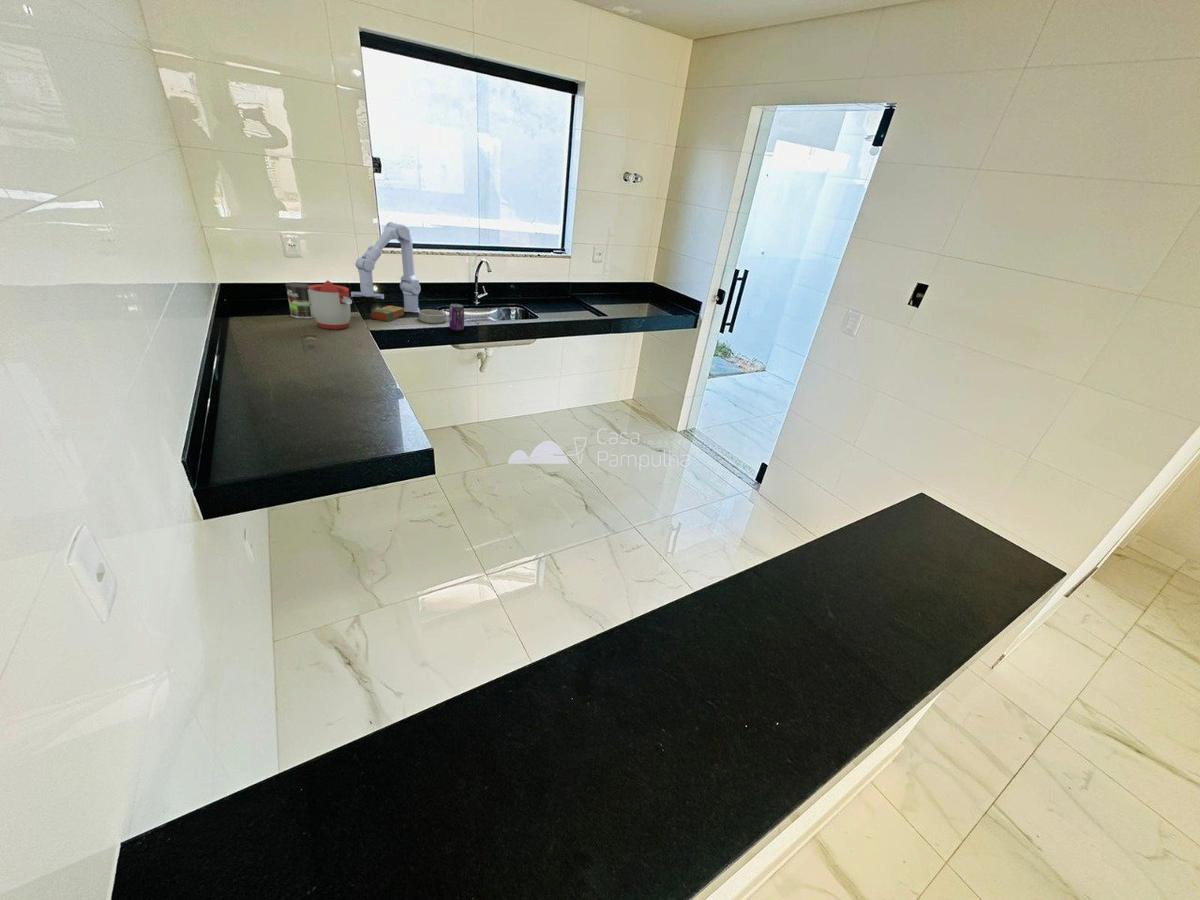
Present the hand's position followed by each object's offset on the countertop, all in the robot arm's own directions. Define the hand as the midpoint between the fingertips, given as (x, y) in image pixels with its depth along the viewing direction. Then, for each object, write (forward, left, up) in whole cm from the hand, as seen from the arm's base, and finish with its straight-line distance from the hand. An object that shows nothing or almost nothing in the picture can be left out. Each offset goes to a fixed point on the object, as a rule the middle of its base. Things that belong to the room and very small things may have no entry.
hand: (369, 312), depth 232 cm
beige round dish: (0, +30, -2) cm, 30 cm away
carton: (0, +9, -2) cm, 9 cm away
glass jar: (+8, -27, -2) cm, 28 cm away
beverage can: (+15, +42, -2) cm, 44 cm away
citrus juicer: (+24, -11, -2) cm, 27 cm away
